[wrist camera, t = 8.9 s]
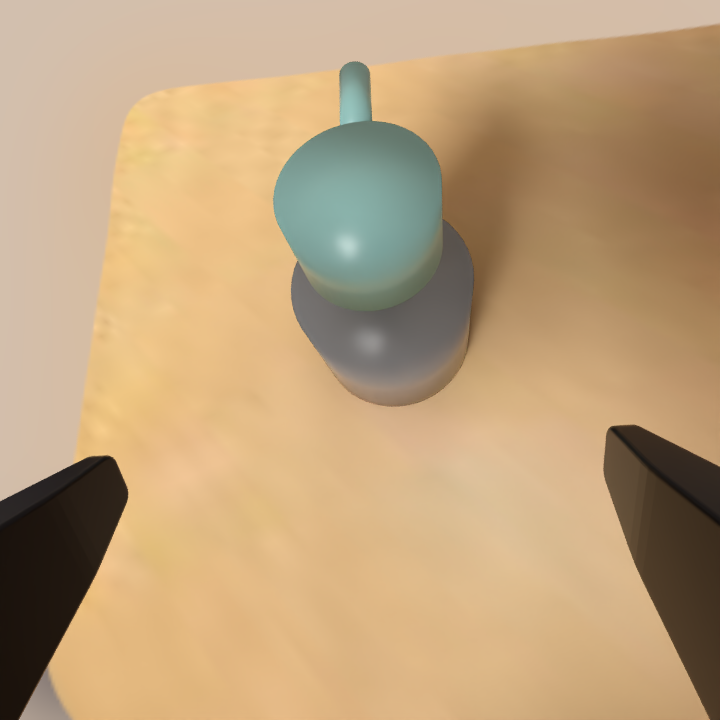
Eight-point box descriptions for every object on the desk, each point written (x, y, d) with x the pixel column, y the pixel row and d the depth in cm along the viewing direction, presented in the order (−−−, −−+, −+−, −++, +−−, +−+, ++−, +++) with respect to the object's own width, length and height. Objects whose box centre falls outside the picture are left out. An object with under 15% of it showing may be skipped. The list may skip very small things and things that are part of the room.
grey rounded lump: (475, 400, 22) (484, 357, 17) (325, 411, 23) (288, 373, 18) (460, 266, 24) (464, 192, 19) (325, 281, 25) (293, 214, 20)
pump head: (449, 329, 17) (449, 251, 12) (316, 341, 18) (270, 271, 13) (433, 163, 20) (428, 48, 15) (317, 180, 20) (279, 74, 16)
